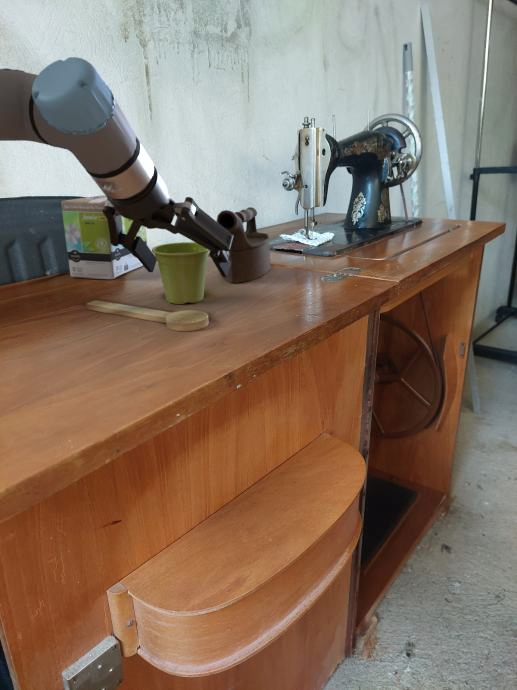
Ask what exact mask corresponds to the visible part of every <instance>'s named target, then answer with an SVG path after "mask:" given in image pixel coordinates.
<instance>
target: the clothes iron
mask: <svg viewBox="0 0 517 690" xmlns="http://www.w3.org/2000/svg"><path fill="white" fill-rule="evenodd" d="M257 215H258V211H257V209H256V208H254V207H251V206H249V207H247V208H244V209H241V210H239V211H235V212H233V211H231V210H228V209H225V210H224V209H223V210H222V211H220V212H219V213H218V214H217V217H216V222H218V223H219V224H220V225H221V226H222V227H224V228H225V229H226V230H227V231H229V232H230V233H231V234H232V235H233V236H234V237H233V240H232V244H231V247H230V251H228V252H229V257H228V259H229V261H230V262H231V264H230V268H229V271H228V275H227V277H224V280H225V281H227V282H228V283H231V284H238V283H245V282H248V281H252V280H256V279H258V278H260V277H262V276H264V275H266V274H267V273H268V272H269V271H270V270H271V250H270V249H271V248H270V247H271V246H270V235H269V234H268V233H264V232H258V230H257V222H256V221H257V220H256V217H257ZM244 223H246V224H245V226H246V227H245V226H244Z"/></svg>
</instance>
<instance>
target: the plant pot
mask: <svg viewBox="0 0 517 690" xmlns="http://www.w3.org/2000/svg"><path fill="white" fill-rule="evenodd" d="M151 251H152V253H153V254H154V255H155V257H156V263H157V264H158V268H159V273H160V277H161V281H162V287H163V291H164V297H165V299H166V301H167V302H168V303H170V304H174V305H185V304H187V303H191V304H196V303H198V302H202V300H203V299H204V296H205V281H206V269H207V261H208V259H209V253H210V250H208V249H206V248H205V247H203V246H201V245H199V244H197V243H196V242H194V241H182V242H170V243H163V244H158V245H156V246H153V247H152V248H151Z"/></svg>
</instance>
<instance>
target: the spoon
mask: <svg viewBox="0 0 517 690" xmlns="http://www.w3.org/2000/svg"><path fill="white" fill-rule="evenodd" d="M85 305H86V310H89V311H94V312H100V313H106V314H111V315H117V316H122V317H127V318H133V319H140V320H144V321H145V320H146V321H149V322H150V321H151V322H157V323H162V324H165V325H166V328H167V329H168V330H172V331H175V332H192V331H198V330H201V329H204V328H206V327H208V325H209V324H210V322H209V321H210V320H209V313H207V312H206V311H204V310H198V309H197V310H195V309H187V310H178V311H174V312H172V311H167V310H159V309H154V308H147V307H142V306H141V307H140V306H135V305H129V304H124V303H123V304H122V303H116V302H112V301H111V302H110V301H103V300H98V299H95V300H92V301H90V302H86V303H85Z"/></svg>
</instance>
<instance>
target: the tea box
mask: <svg viewBox="0 0 517 690" xmlns="http://www.w3.org/2000/svg"><path fill="white" fill-rule="evenodd" d="M106 201H107V197H106V195H105V194H101V195H95V196H94V195H93V196H87V197H80V198H74V199H66V200H61V201H60V204H61V213H62V220H63V229H64V237H65V245H66V252H67V258H68V260H67V261H68V267H69V275H70V277H71V278H80V279H97V280H114V279H116V278H117V277H120V276H121V275H124V274H125V273H129V272H131V271H134V270H136V269H138V268H141V267H144V266H143V265H142V263H141V262H140V261H139V260H138V258H136V257H134V256H133V255H132V254H131V252H130V251H129V250H128V249H125V248H124V247H123V246H122V245H120V244H118V246H113V245H112V244H111V242H110V234H109V227H108V219H107V218H106V216H105V215H104V213H103V208H104V205H105V203H106ZM121 217H122V228H123V234H127V232H128V229H129V228H130V226H131V223H132V221H133V220H131V219H127V218H124V217H123V216H121ZM136 236H140V237H141V238H142V239H143V241H144V242H145V243H146V245H147V246H148V237H147V227H144V226H141V227H140V229H139V231H138V233H137V235H136ZM135 238H136V237H135Z"/></svg>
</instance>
